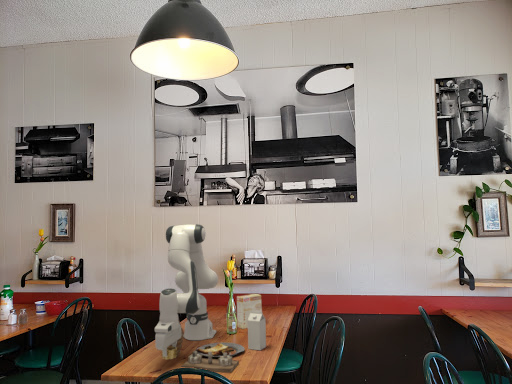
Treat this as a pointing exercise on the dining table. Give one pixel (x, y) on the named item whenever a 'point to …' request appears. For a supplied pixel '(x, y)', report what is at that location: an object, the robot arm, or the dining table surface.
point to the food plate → (219, 349)
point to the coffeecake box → (247, 308)
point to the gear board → (213, 366)
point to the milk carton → (256, 331)
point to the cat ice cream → (179, 342)
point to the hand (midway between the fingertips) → (169, 353)
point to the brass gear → (171, 353)
